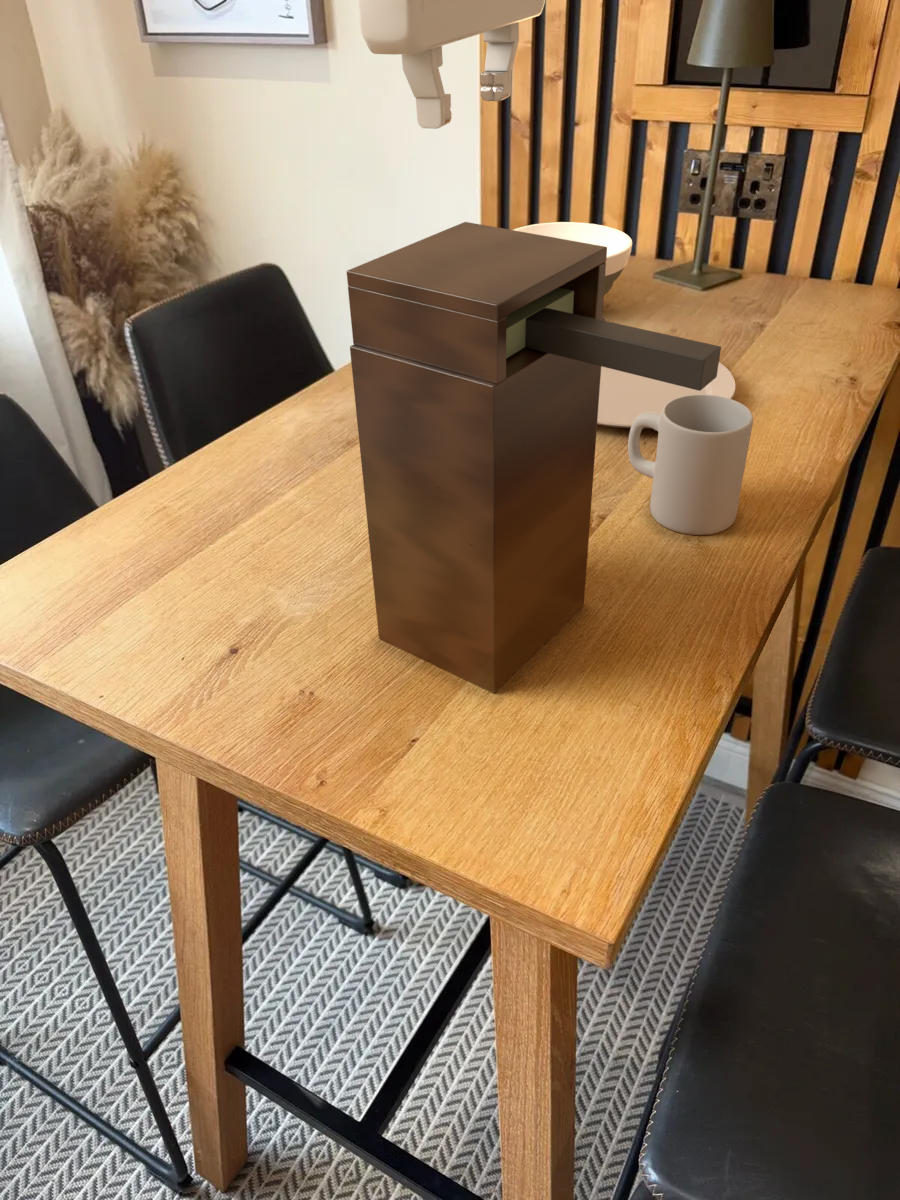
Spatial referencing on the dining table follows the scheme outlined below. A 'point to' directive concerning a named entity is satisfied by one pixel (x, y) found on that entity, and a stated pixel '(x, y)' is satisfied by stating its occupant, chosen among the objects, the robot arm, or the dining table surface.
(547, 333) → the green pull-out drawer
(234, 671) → the dining table surface
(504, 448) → the stand
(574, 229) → the bowl
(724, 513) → the mug
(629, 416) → the plate
